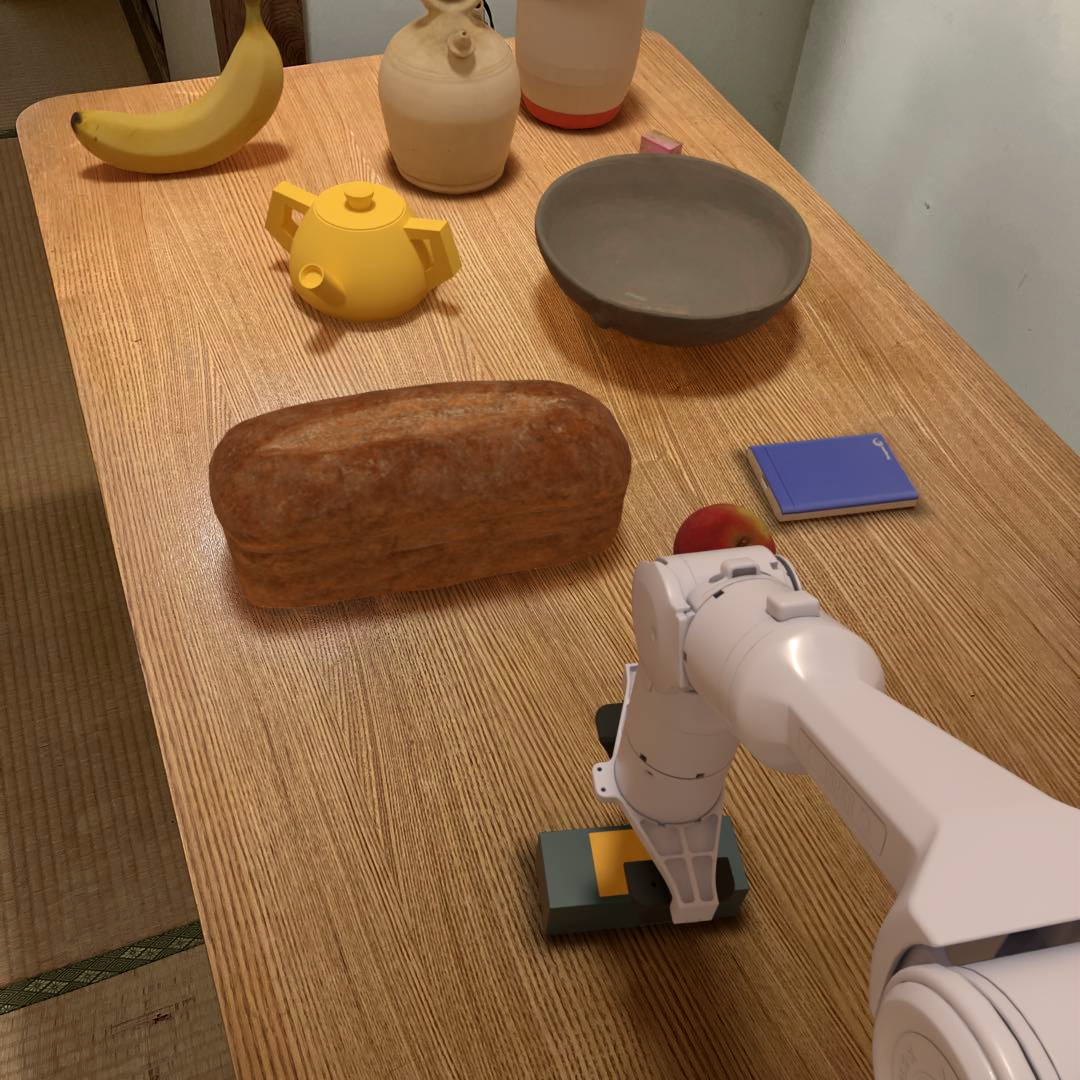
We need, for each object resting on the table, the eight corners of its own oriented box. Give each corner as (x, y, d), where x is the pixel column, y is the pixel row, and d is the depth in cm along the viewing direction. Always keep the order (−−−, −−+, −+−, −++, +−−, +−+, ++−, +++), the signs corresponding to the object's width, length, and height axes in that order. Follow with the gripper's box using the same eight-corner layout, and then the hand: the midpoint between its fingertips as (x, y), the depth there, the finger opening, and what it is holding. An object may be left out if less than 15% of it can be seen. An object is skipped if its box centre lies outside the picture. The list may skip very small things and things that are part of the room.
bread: (220, 515, 86) (192, 384, 76) (588, 462, 93) (606, 336, 83) (234, 634, 78) (204, 506, 68) (633, 567, 85) (659, 442, 75)
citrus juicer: (574, 65, 144) (590, -100, 129) (658, 121, 135) (684, -50, 120) (477, 91, 137) (481, -81, 122) (558, 151, 128) (573, -26, 113)
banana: (86, 190, 116) (34, -4, 101) (82, 163, 119) (32, -28, 104) (296, 167, 122) (277, -18, 107) (287, 142, 125) (267, -41, 111)
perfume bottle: (603, 182, 124) (607, 145, 121) (666, 148, 131) (672, 112, 127) (685, 225, 119) (692, 188, 116) (747, 187, 126) (755, 151, 122)
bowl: (817, 283, 114) (844, 197, 106) (743, 431, 97) (768, 342, 90) (590, 213, 120) (600, 127, 112) (483, 340, 103) (486, 250, 96)
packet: (717, 844, 70) (730, 814, 67) (736, 916, 67) (750, 888, 64) (534, 861, 68) (539, 831, 65) (544, 936, 65) (549, 908, 62)
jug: (391, 129, 129) (382, -102, 110) (519, 140, 129) (532, -88, 111) (372, 197, 119) (360, -46, 100) (512, 208, 119) (525, -31, 101)
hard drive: (879, 430, 96) (749, 443, 94) (920, 495, 91) (783, 511, 88) (874, 443, 97) (746, 456, 95) (914, 508, 92) (779, 524, 90)
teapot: (219, 327, 102) (199, 224, 93) (304, 228, 114) (293, 129, 105) (417, 378, 99) (415, 277, 91) (482, 272, 111) (486, 173, 102)
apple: (662, 621, 82) (679, 552, 76) (668, 543, 87) (685, 473, 81) (762, 636, 81) (787, 568, 76) (762, 557, 87) (785, 487, 81)
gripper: (580, 619, 58) (559, 751, 68) (630, 873, 48) (597, 984, 58) (707, 611, 59) (668, 743, 69) (781, 859, 49) (723, 970, 59)
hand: (643, 853), depth 64 cm, fingers open, 7 cm apart
